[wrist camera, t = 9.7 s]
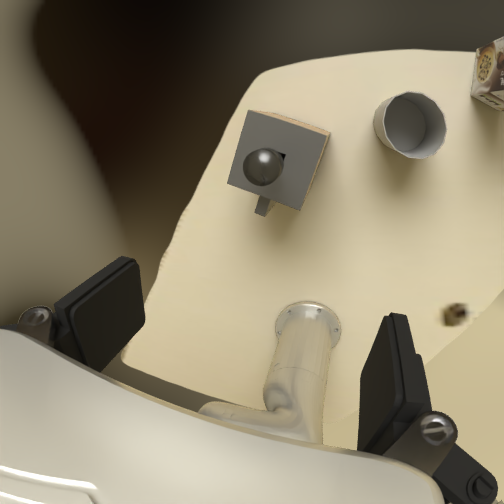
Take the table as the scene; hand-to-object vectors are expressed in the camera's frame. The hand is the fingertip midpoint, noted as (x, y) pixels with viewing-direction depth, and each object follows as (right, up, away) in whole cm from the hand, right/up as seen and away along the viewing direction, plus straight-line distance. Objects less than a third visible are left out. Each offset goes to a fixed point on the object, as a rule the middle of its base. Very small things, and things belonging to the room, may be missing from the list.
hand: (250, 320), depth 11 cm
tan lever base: (+6, +17, +35) cm, 39 cm away
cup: (+22, +21, +28) cm, 42 cm away
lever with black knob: (+5, +17, +31) cm, 36 cm away
